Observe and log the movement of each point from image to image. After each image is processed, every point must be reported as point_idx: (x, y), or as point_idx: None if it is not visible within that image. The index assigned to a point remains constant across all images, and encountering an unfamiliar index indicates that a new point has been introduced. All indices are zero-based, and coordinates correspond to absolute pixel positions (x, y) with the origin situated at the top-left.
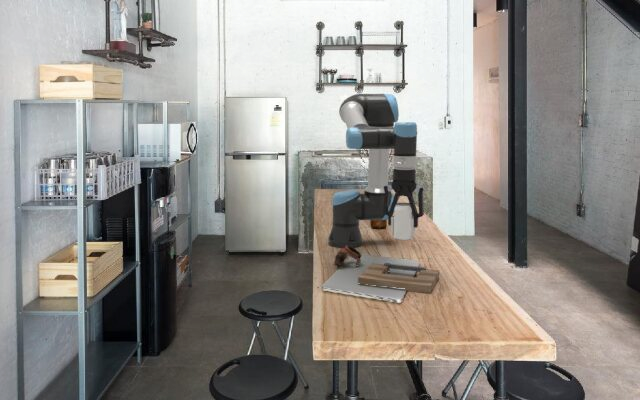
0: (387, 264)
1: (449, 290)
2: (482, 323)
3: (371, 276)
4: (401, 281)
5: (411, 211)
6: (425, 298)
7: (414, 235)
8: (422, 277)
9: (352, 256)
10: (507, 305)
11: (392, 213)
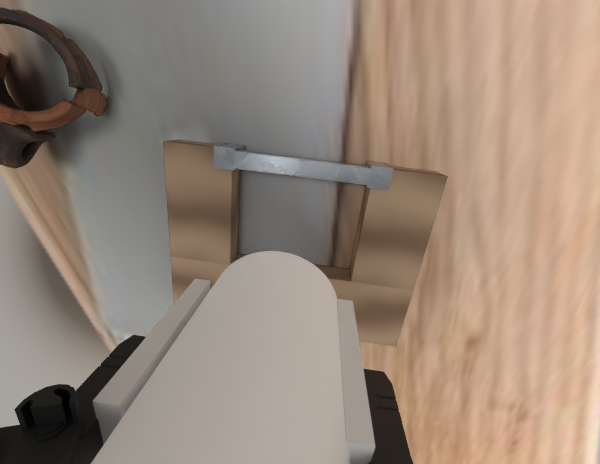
0: (227, 167)
1: (452, 297)
2: (486, 460)
3: None
4: None
5: None
6: (376, 362)
7: (352, 305)
8: (373, 277)
9: (55, 125)
10: (591, 374)
11: (69, 457)
